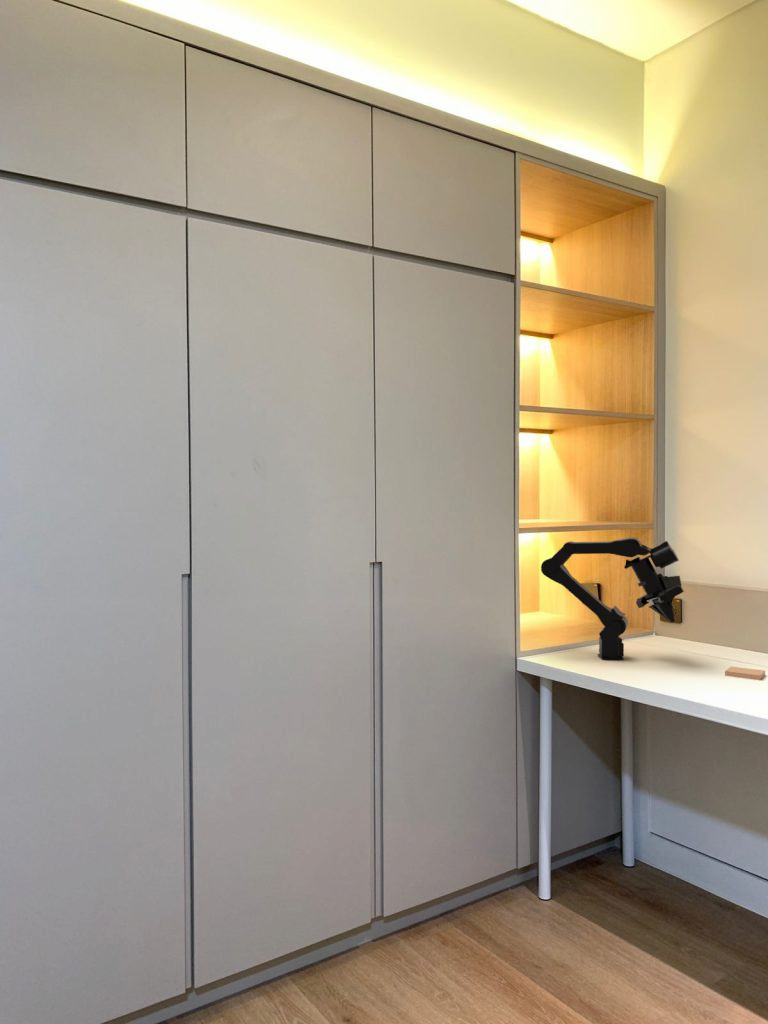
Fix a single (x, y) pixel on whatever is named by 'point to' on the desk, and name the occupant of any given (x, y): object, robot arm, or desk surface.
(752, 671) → the glazed tile
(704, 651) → the desk surface
